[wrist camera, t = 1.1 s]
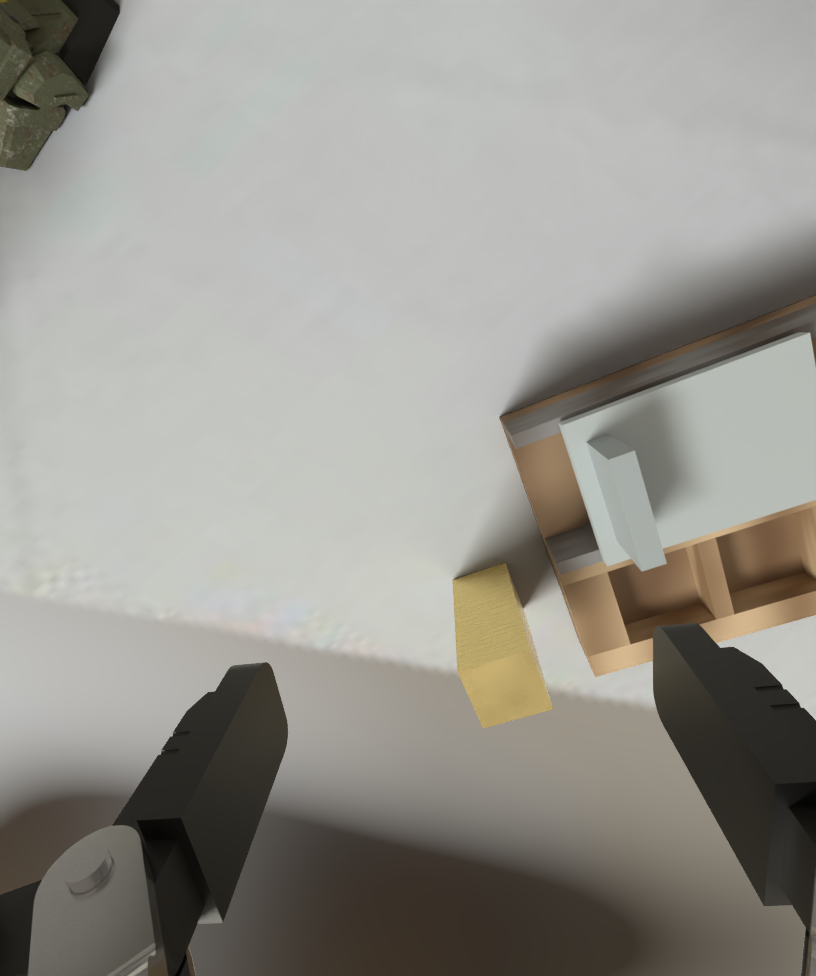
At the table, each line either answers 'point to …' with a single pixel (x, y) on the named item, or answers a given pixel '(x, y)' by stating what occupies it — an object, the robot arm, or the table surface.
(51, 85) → the mechanical leg
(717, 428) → the lid
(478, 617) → the pin
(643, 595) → the board
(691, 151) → the table surface
